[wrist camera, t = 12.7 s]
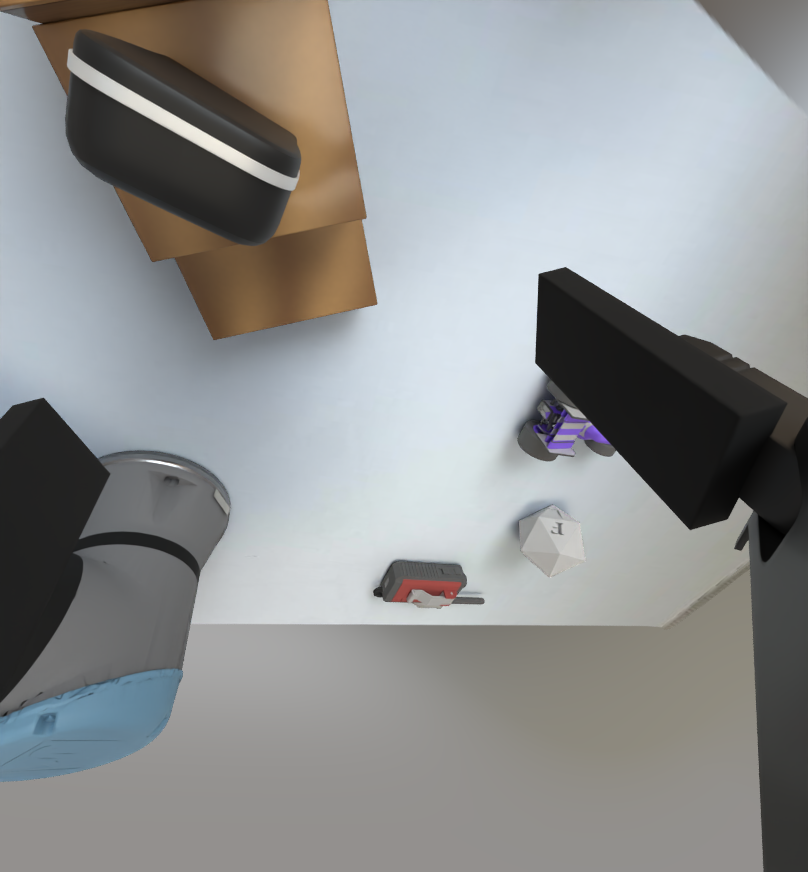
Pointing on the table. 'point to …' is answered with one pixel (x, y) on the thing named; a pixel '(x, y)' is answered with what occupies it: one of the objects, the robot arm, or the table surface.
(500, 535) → the table surface
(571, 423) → the toy race car
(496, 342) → the table surface
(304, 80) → the shelf riser
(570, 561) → the die
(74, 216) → the table surface
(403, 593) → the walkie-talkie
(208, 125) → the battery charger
